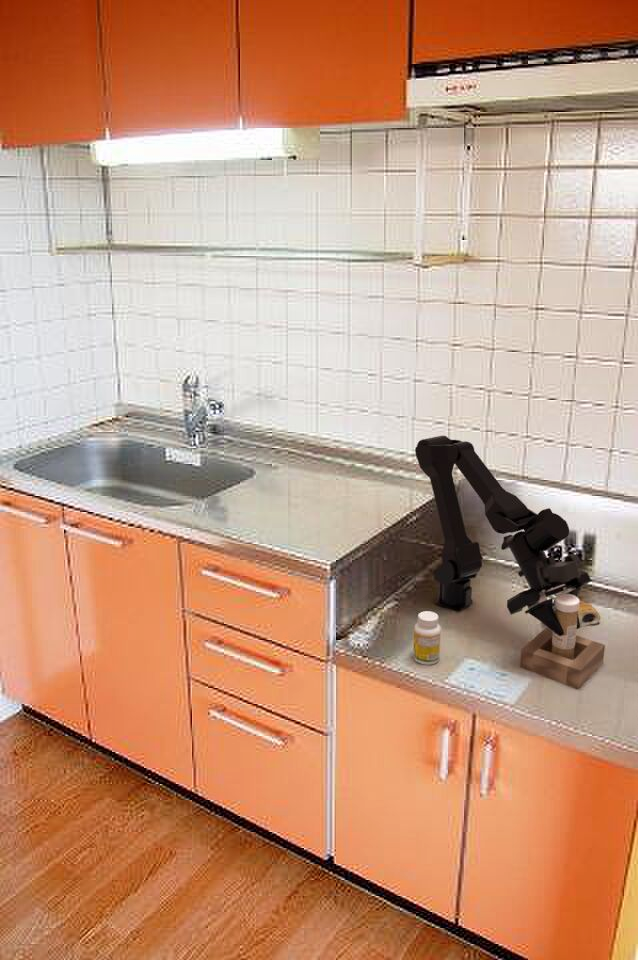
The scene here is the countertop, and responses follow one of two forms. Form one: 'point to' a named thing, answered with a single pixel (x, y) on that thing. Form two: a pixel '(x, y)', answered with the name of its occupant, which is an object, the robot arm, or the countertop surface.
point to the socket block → (562, 659)
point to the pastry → (587, 614)
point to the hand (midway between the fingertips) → (570, 632)
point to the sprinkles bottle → (566, 625)
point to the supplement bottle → (427, 638)
